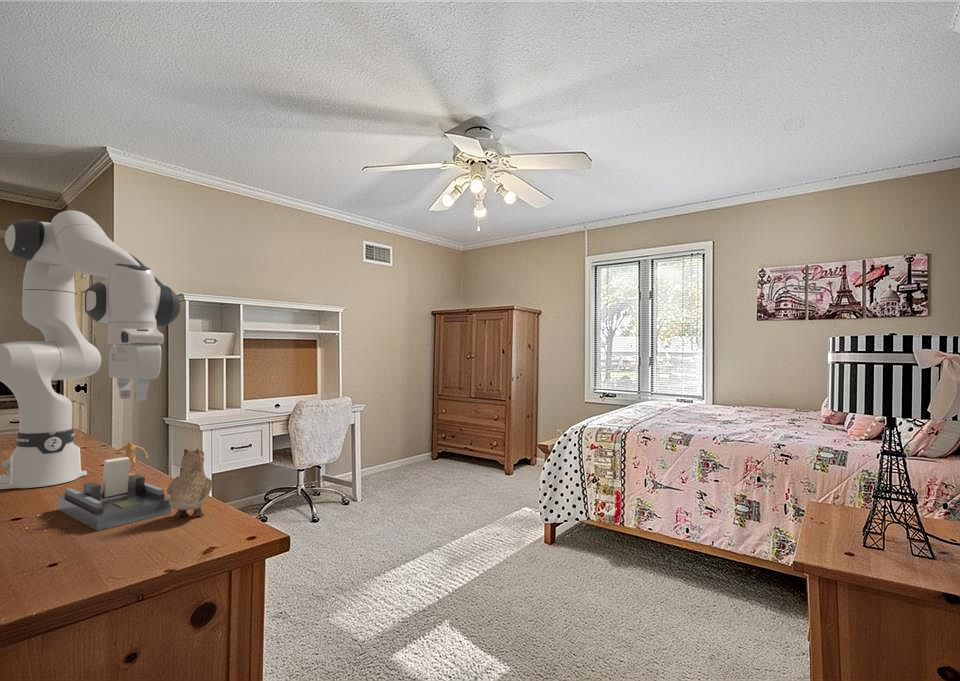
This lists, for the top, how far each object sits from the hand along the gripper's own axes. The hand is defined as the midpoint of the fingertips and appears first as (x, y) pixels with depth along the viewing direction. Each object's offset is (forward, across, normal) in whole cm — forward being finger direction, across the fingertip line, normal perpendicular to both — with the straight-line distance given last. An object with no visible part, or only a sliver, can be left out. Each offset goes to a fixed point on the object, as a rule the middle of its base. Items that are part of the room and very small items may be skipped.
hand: (132, 399), depth 108 cm
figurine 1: (+26, -29, +8) cm, 40 cm away
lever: (+22, -9, -1) cm, 24 cm away
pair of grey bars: (+23, -9, -1) cm, 25 cm away
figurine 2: (+27, +8, +8) cm, 29 cm away
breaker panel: (+26, -9, -1) cm, 28 cm away
